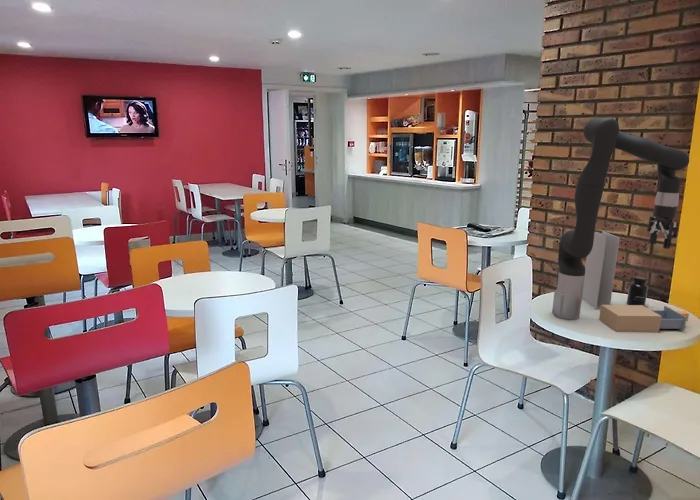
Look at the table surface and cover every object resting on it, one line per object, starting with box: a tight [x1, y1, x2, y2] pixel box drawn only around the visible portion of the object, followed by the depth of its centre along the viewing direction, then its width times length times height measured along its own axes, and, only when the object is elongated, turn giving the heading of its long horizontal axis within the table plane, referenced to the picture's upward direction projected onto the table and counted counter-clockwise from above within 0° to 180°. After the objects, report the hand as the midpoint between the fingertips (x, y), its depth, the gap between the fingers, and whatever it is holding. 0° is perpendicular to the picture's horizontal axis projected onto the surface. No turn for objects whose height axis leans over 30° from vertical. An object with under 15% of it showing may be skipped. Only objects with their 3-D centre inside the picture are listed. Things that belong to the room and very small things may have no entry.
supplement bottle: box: [626, 275, 649, 307], centre depth 215 cm, size 7×7×12 cm
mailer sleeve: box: [598, 304, 662, 333], centre depth 191 cm, size 16×12×6 cm
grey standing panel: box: [582, 230, 621, 310], centre depth 213 cm, size 14×6×30 cm, turn 179°
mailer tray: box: [650, 305, 690, 332], centre depth 192 cm, size 20×12×5 cm, turn 92°
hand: (659, 245), depth 198 cm, fingers open, 8 cm apart
